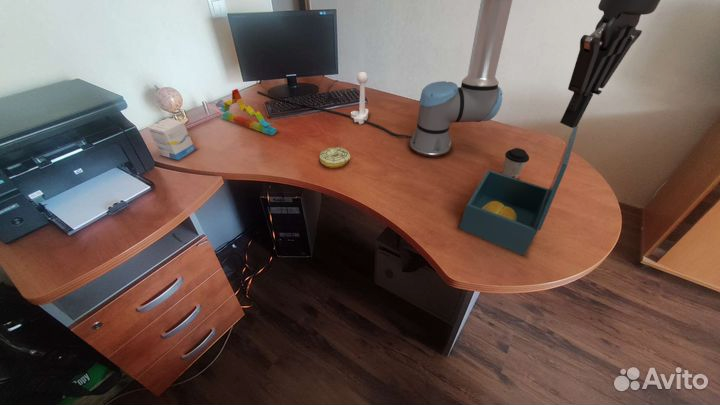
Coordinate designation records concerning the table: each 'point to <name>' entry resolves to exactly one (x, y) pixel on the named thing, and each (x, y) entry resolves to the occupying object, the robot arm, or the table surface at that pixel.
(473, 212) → the dark teal hollow box
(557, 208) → the table surface
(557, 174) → the lid
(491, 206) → the bread roll
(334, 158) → the decorated donut
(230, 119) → the colourful triangular block frame
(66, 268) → the table surface
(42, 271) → the table surface
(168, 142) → the ink box
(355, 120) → the joystick
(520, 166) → the coffee cup
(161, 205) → the table surface
